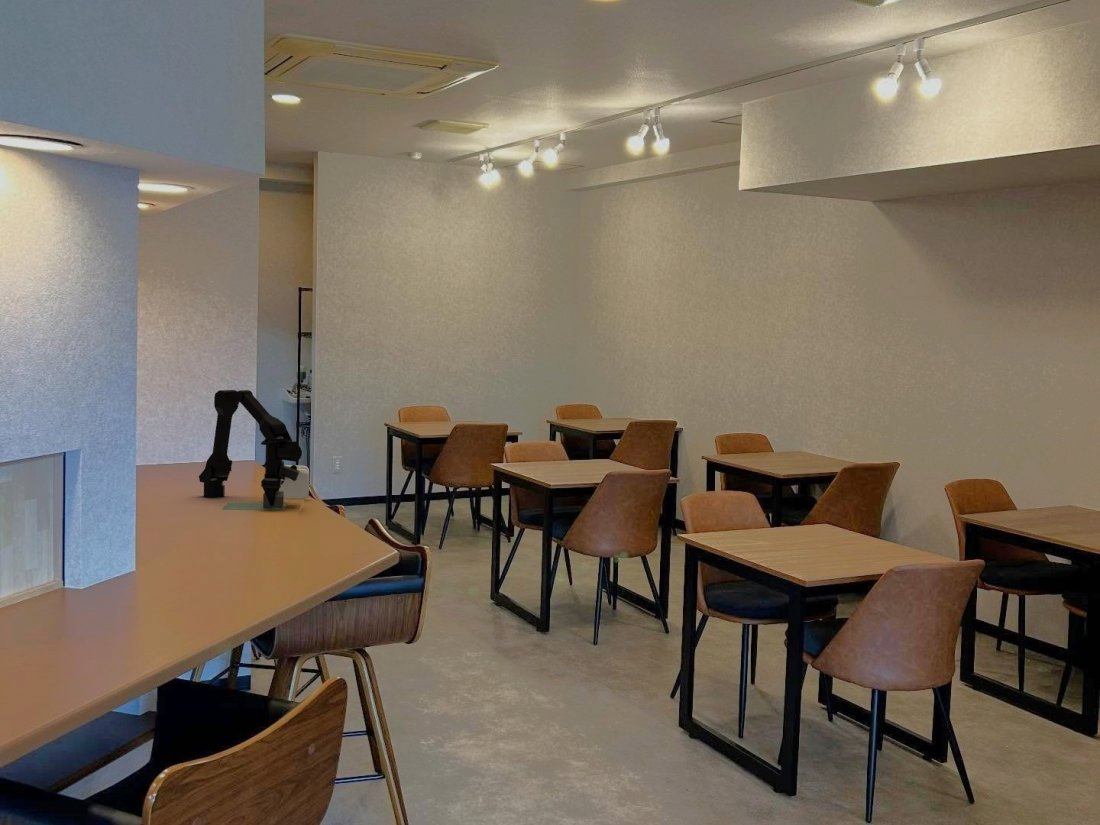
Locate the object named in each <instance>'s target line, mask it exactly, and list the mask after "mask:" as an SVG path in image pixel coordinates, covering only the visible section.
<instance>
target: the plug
mask: <svg viewBox="0 0 1100 825" xmlns="http://www.w3.org/2000/svg"><path fill="white" fill-rule="evenodd" d="M262 495H263V498H262V503H263V508H281V507H282V505H283V503H285V502H284V491H277V492H276V497H275V502H274V506H270V504H269V501H268V499H267V496H266V494H265V492H264V493H263V494H262Z"/></svg>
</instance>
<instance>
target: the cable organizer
mask: <svg viewBox="0 0 1100 825" xmlns="http://www.w3.org/2000/svg"><path fill="white" fill-rule="evenodd" d="M292 465H293V464H292ZM292 465H290V464H289V465H288V464H284V466H287V467H288V466H289V467H291V466H292ZM294 465H295V466H297V470H299V471H300V472H299V475H298V477H297V480H296V481H293V480H291V479H289V478H287V477H286V479H285V480H283V479H281V481H285V482H284V483H283V484H282V485H281V487H280V488H279V491H284V499H286V500H287V499H289V500H293V499H294V500H305V499H307V498H308V497H309V494H310V490H309V489H310V469H309V467H308V466H306V465H301V464H300V465H297V464H294Z"/></svg>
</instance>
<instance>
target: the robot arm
mask: <svg viewBox="0 0 1100 825" xmlns="http://www.w3.org/2000/svg"><path fill="white" fill-rule="evenodd" d="M213 401H214V402H213V404H214V405H213V407H214V409H215V411H216V413H217V416H216V423H215V424H216V425H215V433H214V439H213V447H212V452H211V454H210V456H209V457H208V458H207V460H206V463H205V467H204V469H203V471H201V473H200V474H199V475H198V480H199V482H200V483H203V498H207V499H219V498H224V497H225V495H226V491H225V490H226V485H225V484H224V482H228V479H229V475H230V473H231V472H232V471H233V470H232V465H233V460H232V459H230V458H229V455H228V451H229V442H230V435H231V428H232V421H233V415H234V414H235V413H236V411H237V410H238V408H239V404H241V405H242V406H243V408H244V409H245V410H246V411H247V412H248V413H249V414H250V415H251V416H252V418H253V419H254V420H255V421H256V422H257V424H258V425H259V429H258V430H259V431H260V433H261V434H262V436H263V438H265V439H263V441H261V443H260V445H262V446H265V456H264V457H265V459H264V460H265V461H264V467H265V468H264V469H265V471H264V472H265V473H264V476H263V478H262V480H261V483H260V486H261V488H262V489H263V492H264V493H265V494H266V496H267V499H268V501H269V504H270V506H274V502H275V497H276V492H277V491H279V488H280V487H281V485H282V484H283V483H284V482H285V481H281V479H283V480H285V479H286V477H287V478H289V479H291V480H293V481H296V480H297V477H298V475H299V472H300V471H299V470H297V466H295V465H296V464H292V466H291V467H289V466H288V467H287V466H284V465H285V461H287V462H298V461H299V460H300V459H301V458H302V455H303V451H302V447H301V446H300V445H299V444H298V441H297V440H295V441H294V440H293V439H292V437H291V435H290V433H289V431H288V429H287V425H286V424H285V423H284V422H283V421H282V420H280V419H279V418H277V417H275V416H273V415H271V414H270V413H269V412H268V410H267V409H265V407H264V406H263V405H262V404H261V403H260V401H259V400H258V399H257V398H256V397H255V396H254V394H253V392H252V391H251V390H248V389H244V390H243V389H242V390H241V389H239V390H236V389H222V390H221V389H220V390H218V391H216V392H215V394H214V400H213Z"/></svg>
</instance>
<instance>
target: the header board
mask: <svg viewBox="0 0 1100 825" xmlns="http://www.w3.org/2000/svg"><path fill="white" fill-rule="evenodd" d="M287 505H288V502H283V505H282V507H281V508H263V502H235V501H234V502H229V501H228V502H227V503H226V504H225V505H224V506H223V507H222V508H221V509H222V511H224V510H225V511H229V510H230V511H234V510H235V511H284V509H285V508H286V506H287Z"/></svg>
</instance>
